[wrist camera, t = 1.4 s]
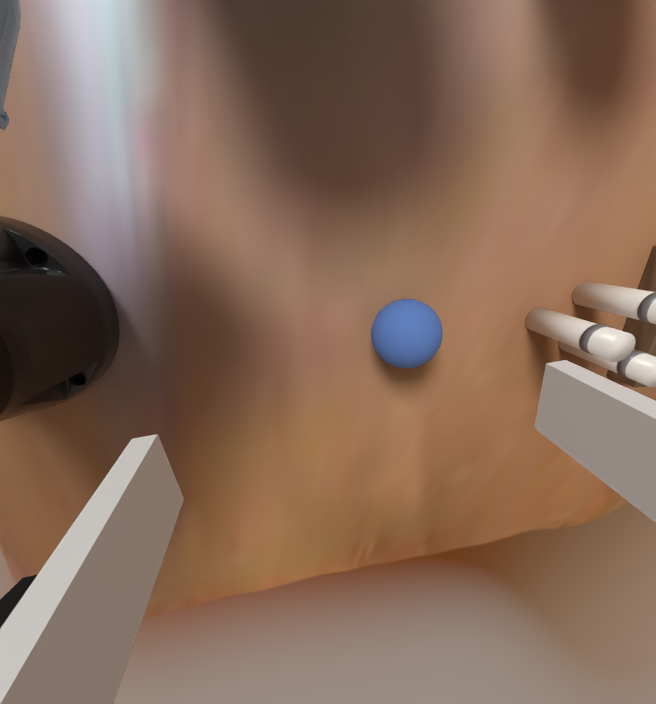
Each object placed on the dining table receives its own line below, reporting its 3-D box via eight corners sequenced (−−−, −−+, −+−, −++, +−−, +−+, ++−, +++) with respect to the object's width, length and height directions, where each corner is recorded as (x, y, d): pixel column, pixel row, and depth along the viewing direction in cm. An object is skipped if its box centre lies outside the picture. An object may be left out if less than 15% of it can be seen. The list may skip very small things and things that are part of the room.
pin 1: (568, 306, 31) (663, 330, 23) (575, 281, 30) (677, 297, 22) (590, 305, 31) (691, 329, 24) (598, 280, 31) (706, 296, 23)
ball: (363, 354, 30) (380, 382, 25) (365, 294, 28) (385, 309, 23) (421, 352, 31) (450, 377, 25) (427, 292, 29) (461, 306, 23)
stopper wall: (606, 375, 35) (634, 387, 32) (653, 245, 30) (691, 247, 27) (619, 374, 35) (647, 386, 32) (667, 245, 30) (706, 247, 27)
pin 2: (555, 351, 33) (639, 388, 25) (561, 329, 32) (651, 360, 24) (576, 350, 33) (665, 386, 25) (583, 328, 32) (678, 359, 25)
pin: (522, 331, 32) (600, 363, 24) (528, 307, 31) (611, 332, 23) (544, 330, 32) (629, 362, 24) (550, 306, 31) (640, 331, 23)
